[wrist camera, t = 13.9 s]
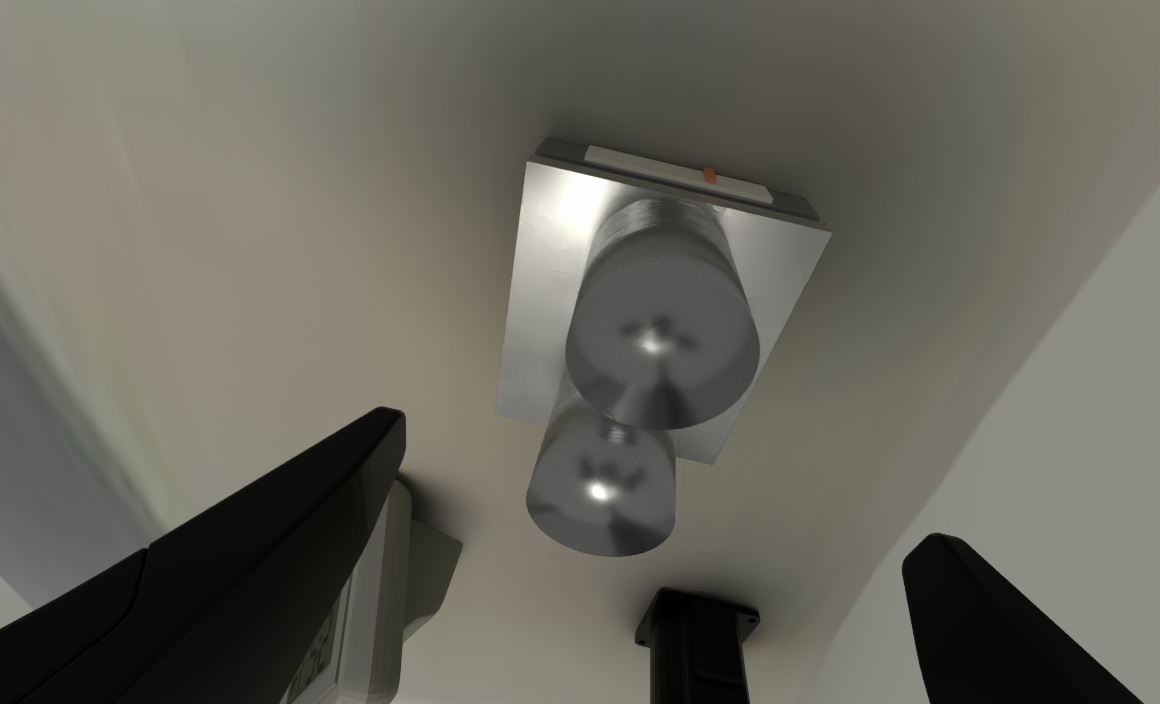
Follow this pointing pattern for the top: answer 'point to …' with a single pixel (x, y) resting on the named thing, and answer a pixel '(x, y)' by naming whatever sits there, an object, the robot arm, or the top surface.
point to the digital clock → (378, 611)
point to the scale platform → (557, 262)
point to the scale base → (677, 177)
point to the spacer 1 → (661, 319)
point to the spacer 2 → (602, 480)
